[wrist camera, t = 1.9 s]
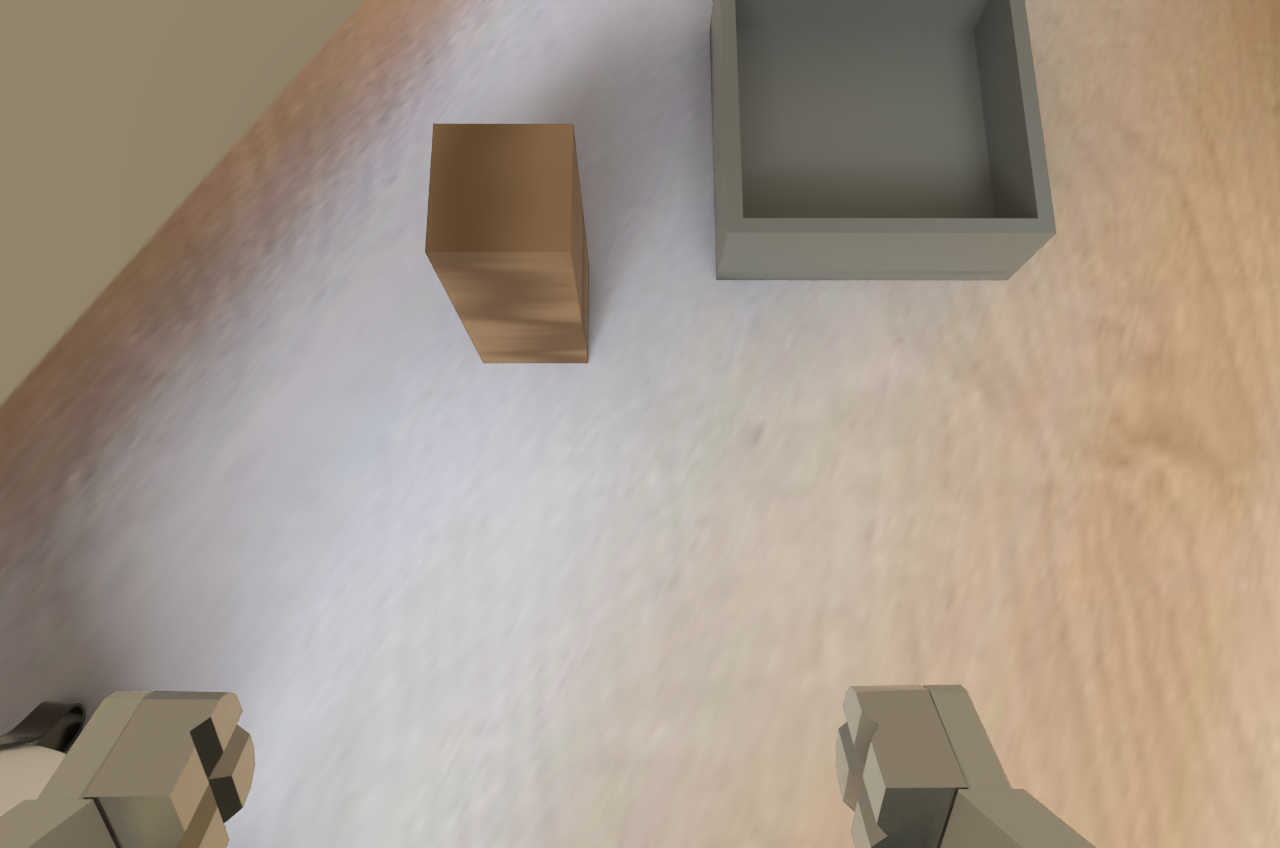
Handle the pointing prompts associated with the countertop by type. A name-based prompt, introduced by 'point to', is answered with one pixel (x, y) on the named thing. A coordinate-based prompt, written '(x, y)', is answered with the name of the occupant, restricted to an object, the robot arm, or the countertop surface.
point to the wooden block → (511, 239)
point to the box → (876, 140)
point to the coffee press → (36, 750)
